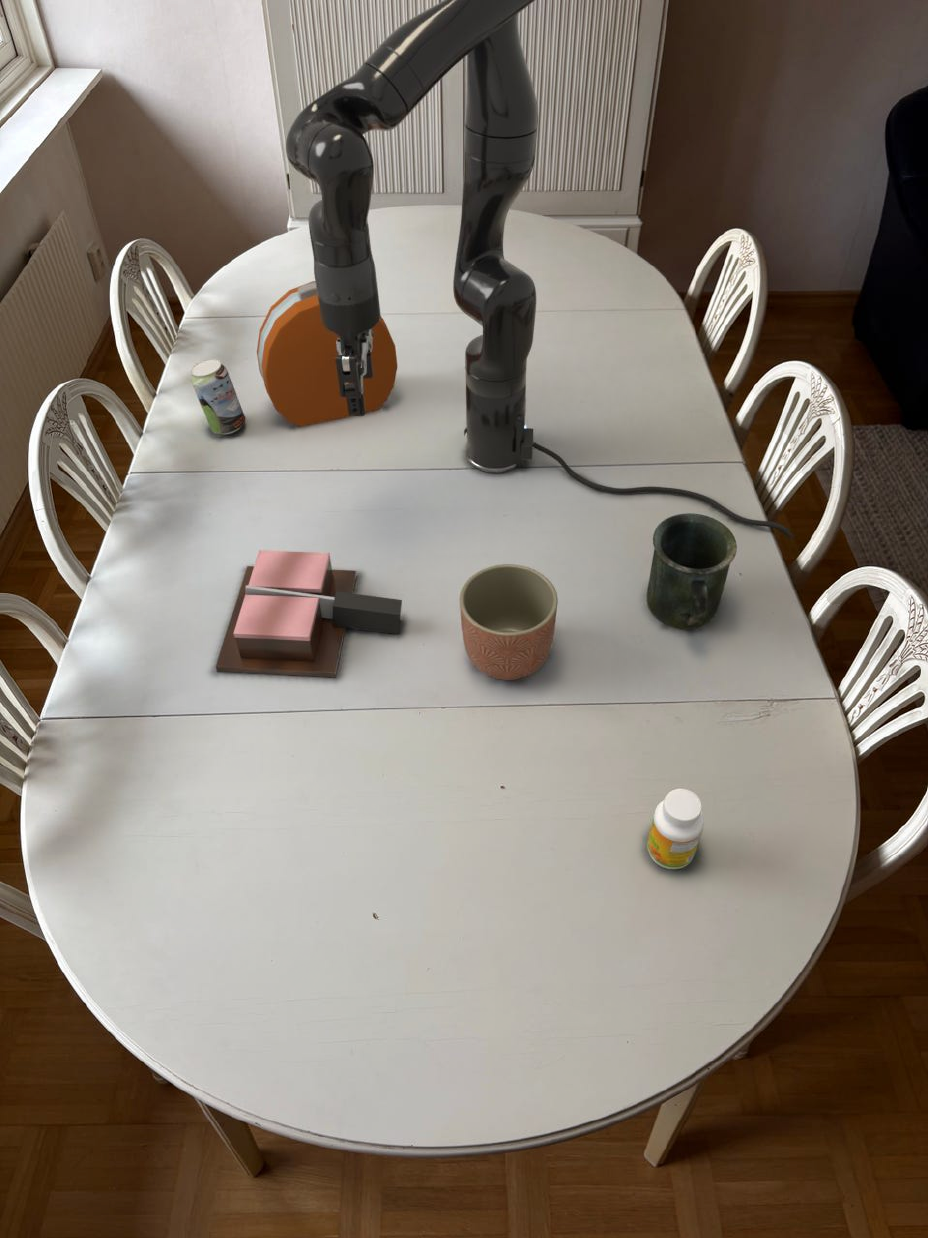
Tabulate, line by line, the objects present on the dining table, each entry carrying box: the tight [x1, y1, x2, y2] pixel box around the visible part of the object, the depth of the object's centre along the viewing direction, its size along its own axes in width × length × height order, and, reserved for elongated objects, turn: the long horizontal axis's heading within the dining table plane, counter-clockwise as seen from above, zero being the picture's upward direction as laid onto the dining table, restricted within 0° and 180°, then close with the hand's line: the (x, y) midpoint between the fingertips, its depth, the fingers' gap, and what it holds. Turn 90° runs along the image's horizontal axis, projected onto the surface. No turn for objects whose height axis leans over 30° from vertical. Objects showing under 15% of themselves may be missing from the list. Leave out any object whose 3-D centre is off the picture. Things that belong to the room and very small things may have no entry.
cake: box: [215, 549, 358, 678], centre depth 136 cm, size 16×19×6 cm
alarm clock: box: [256, 280, 398, 427], centre depth 164 cm, size 22×10×23 cm, turn 108°
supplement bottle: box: [646, 788, 705, 870], centre depth 110 cm, size 5×5×10 cm
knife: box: [245, 585, 403, 635], centre depth 136 cm, size 21×3×4 cm, turn 86°
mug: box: [645, 512, 738, 630], centre depth 134 cm, size 11×15×12 cm
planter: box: [459, 563, 559, 681], centre depth 130 cm, size 12×12×11 cm
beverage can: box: [190, 358, 246, 436], centre depth 164 cm, size 6×7×12 cm
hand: (361, 395), depth 136 cm, fingers open, 8 cm apart
